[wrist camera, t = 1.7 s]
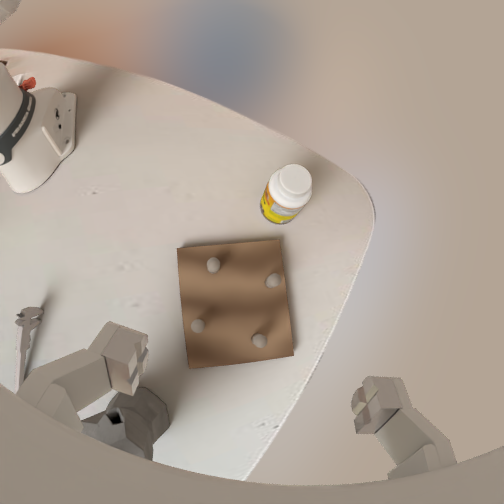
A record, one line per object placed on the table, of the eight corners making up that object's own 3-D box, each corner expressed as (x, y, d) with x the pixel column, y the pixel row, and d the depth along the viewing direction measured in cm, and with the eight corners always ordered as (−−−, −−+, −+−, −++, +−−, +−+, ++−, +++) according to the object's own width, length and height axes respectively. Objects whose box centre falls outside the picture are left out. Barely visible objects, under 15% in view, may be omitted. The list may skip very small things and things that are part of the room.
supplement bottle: (267, 185, 42) (283, 150, 32) (300, 201, 42) (324, 170, 33) (252, 215, 41) (265, 186, 31) (287, 232, 41) (309, 208, 31)
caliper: (40, 307, 34) (18, 305, 28) (45, 310, 34) (22, 309, 28) (18, 408, 29) (-2, 417, 23) (22, 412, 29) (2, 421, 23)
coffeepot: (119, 362, 34) (57, 394, 17) (182, 387, 35) (159, 443, 17) (100, 445, 30) (51, 503, 13) (157, 469, 31) (133, 542, 14)
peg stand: (178, 250, 38) (173, 243, 34) (277, 242, 41) (284, 233, 36) (190, 366, 35) (187, 373, 31) (291, 354, 38) (300, 359, 33)
